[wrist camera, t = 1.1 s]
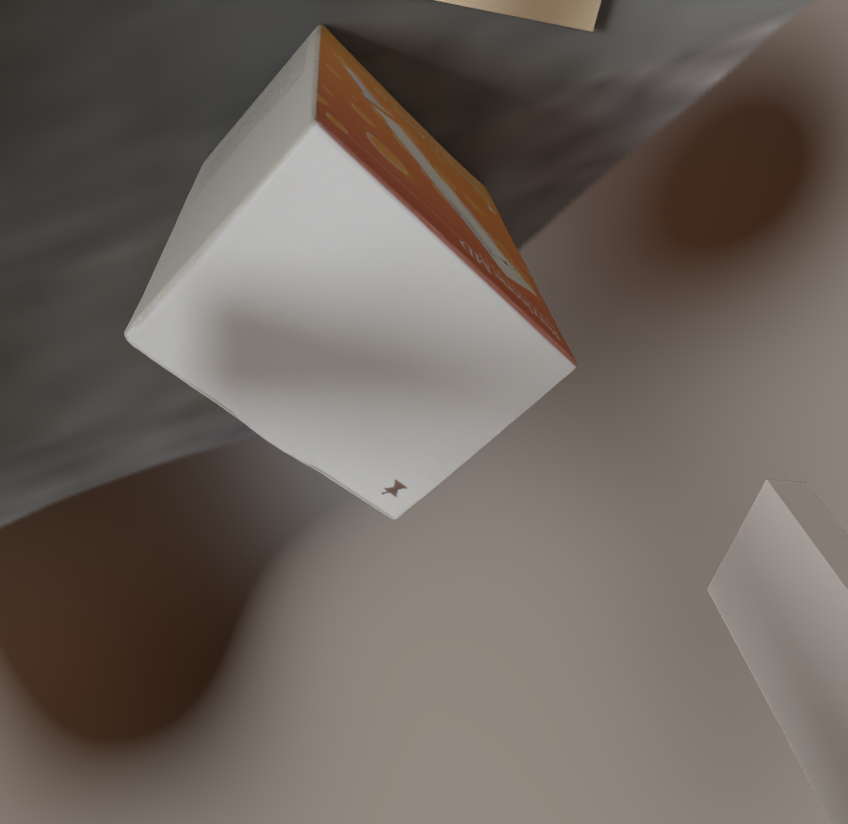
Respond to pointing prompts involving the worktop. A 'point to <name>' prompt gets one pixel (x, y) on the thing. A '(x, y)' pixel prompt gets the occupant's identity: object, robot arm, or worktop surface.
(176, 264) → the small box
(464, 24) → the worktop surface
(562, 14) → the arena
